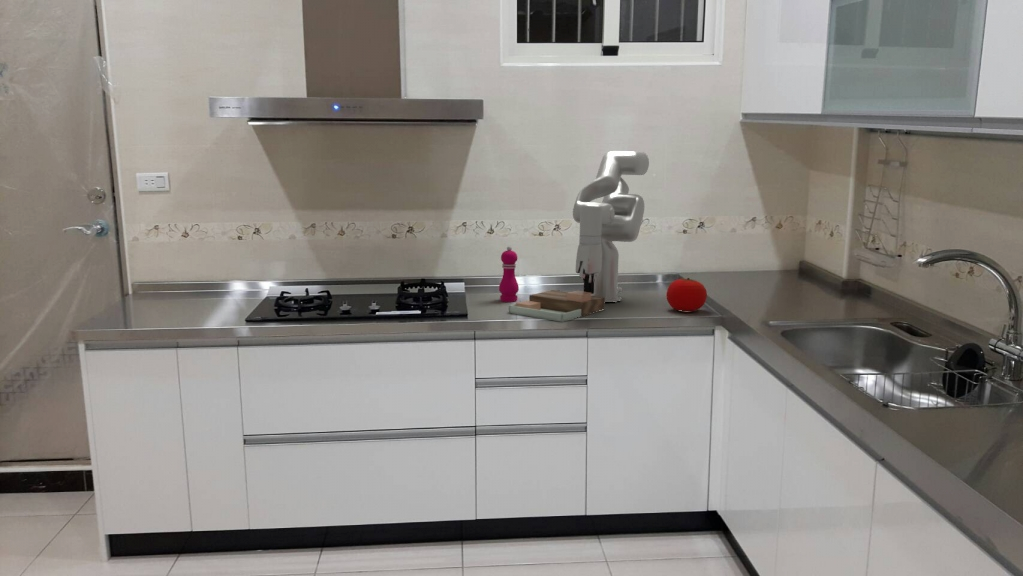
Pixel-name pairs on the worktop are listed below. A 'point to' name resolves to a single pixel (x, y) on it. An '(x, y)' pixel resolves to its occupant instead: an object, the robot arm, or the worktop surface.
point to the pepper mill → (508, 277)
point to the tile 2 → (579, 296)
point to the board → (566, 302)
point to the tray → (545, 313)
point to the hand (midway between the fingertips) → (588, 293)
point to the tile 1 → (529, 304)
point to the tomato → (686, 295)
